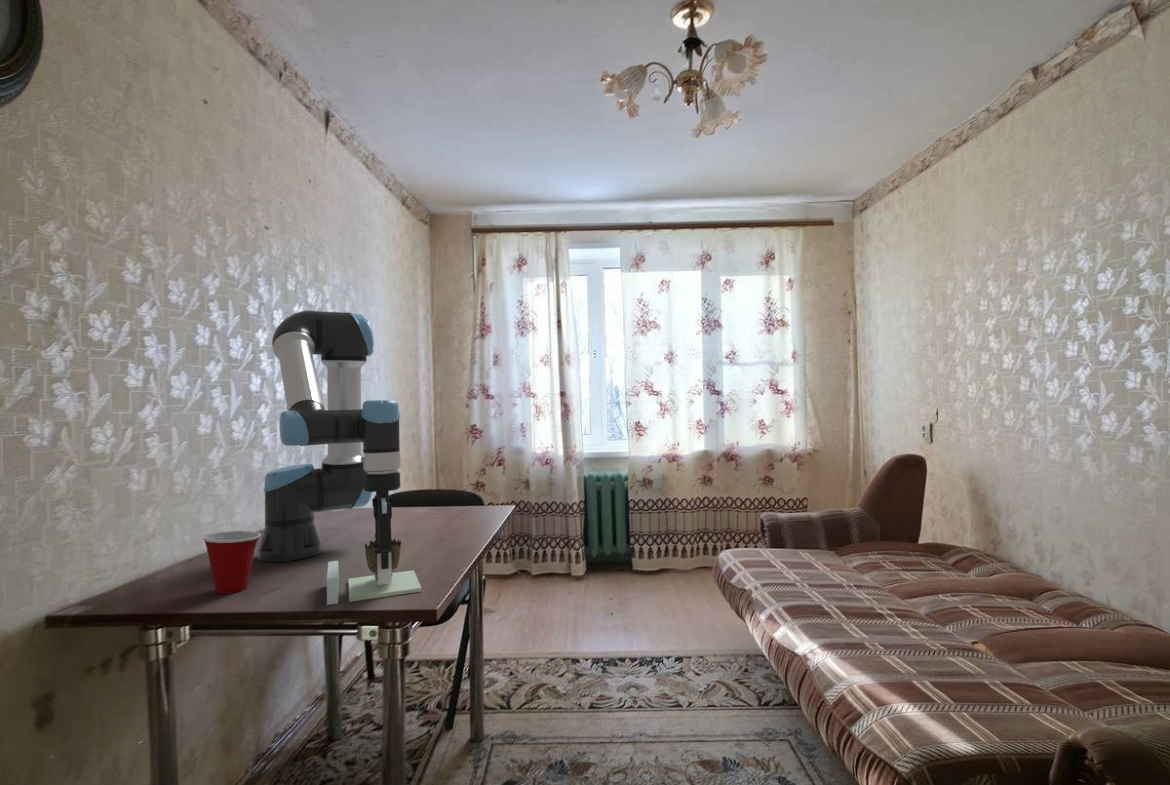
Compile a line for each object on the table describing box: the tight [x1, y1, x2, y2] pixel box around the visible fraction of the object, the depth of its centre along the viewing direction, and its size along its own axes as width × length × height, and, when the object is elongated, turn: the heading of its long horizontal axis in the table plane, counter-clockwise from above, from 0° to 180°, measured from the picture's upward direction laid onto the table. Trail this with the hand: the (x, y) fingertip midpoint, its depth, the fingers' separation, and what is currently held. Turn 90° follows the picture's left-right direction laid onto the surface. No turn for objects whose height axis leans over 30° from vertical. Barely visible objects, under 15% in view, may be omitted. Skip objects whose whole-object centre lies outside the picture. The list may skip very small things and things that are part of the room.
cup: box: [364, 538, 402, 581], centre depth 126 cm, size 8×7×8 cm
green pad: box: [347, 570, 422, 603], centre depth 126 cm, size 14×14×1 cm
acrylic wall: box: [326, 560, 340, 606], centre depth 122 cm, size 14×2×5 cm, turn 22°
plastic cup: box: [202, 530, 262, 595], centre depth 126 cm, size 11×11×12 cm
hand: (383, 578), depth 126 cm, fingers closed on cup, 7 cm apart
